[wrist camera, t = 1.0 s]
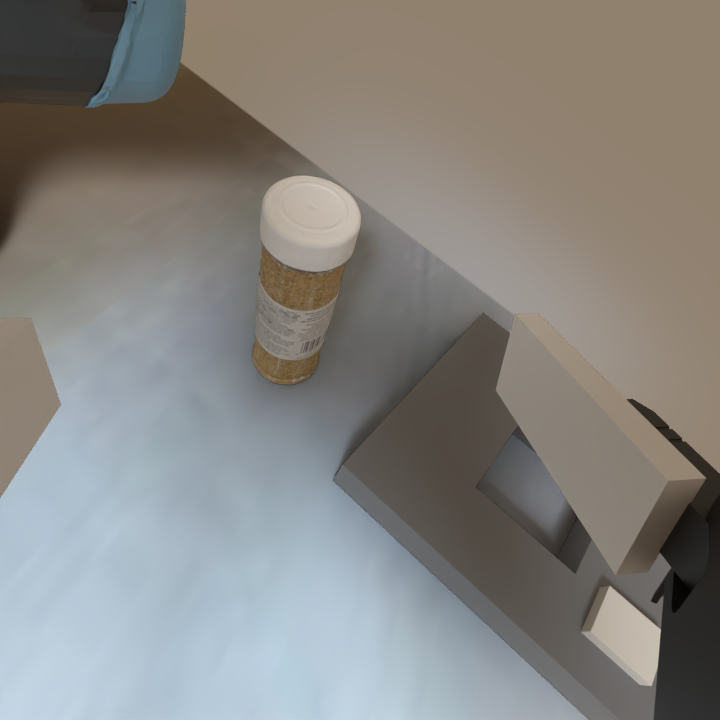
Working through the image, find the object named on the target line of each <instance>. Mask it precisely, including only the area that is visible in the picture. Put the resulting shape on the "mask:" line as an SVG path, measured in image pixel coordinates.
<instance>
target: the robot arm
mask: <svg viewBox="0 0 720 720" xmlns="http://www.w3.org/2000/svg"><path fill="white" fill-rule="evenodd" d="M185 13H186V0H0V102H14V103H36V104H57V105H78V106H83V107H84V108H90V107H92V108H96V107H99V106H101V105H102V104H121V103H148V102H152V101H155V100H157V99H158V98H161V97H162V96H164V95H165V94H166V93H167V92H168V91H169V89H170V88H171V86H172V85H173V83H174V81H175V79H176V76H177V73H178V69H179V65H180V60H181V54H182V47H183V38H184V29H185ZM496 391H497V393H498V394H499V396H500V398H501V399H502V401H503V402H504V404H505V405H506V407H507V408H508V410H509V411H510V413H511V415H512V416H513V418H514V419H515V421H516V422H517V424H518V425H519V427H520V428H521V430H522V432H523V433H524V435H525V436H526V438H527V439H528V441H529V442H530V444H531V445H532V447H533V449H534V450H535V452H536V453H537V455H538V456H539V458H540V459H541V461H542V463H543V464H544V466H545V467H546V469H547V470H548V472H549V473H550V475H551V476H552V478H553V480H554V481H555V483H556V484H557V486H558V487H559V489H560V490H561V492H562V493H563V495H564V497H565V498H566V500H567V501H568V503H569V504H570V506H571V507H572V509H573V510H574V512H575V514H576V515H577V517H578V518H579V520H580V521H581V523H582V524H583V526H584V527H585V529H586V531H587V532H588V534H589V535H590V537H591V538H592V540H593V541H594V543H595V545H596V546H597V548H598V549H599V551H600V552H601V554H602V555H603V557H604V558H605V560H606V562H607V563H608V565H609V566H610V568H611V569H612V571H613V572H614V574H615V575H621V574H631V573H641V572H648V571H649V570H650V568H651V567H652V565H653V563H654V562H655V560H656V558H657V557H658V555H659V554H660V553H661V555H662V556H663V557H664V558H665V560H666V561H667V562H668V564H669V565H670V566H671V569H670V570H669V572H668V573H667V575H666V576H665V578H664V579H663V581H662V582H661V584H660V585H659V587H658V588H657V590H656V591H655V593H654V595H653V597H652V599H651V602H653V603H655V604H657V603H658V601H659V600H660V598H661V597H662V596H664V597H663V609H662V621H661V633H660V646H659V658H658V670H657V682H656V695H655V707H654V719H653V720H720V474H719V473H718V472H717V471H716V470H715V469H714V468H713V467H712V466H711V465H710V464H709V463H708V462H707V461H705V460H704V459H703V458H702V457H701V456H700V455H699V454H698V453H697V452H696V451H695V450H694V449H693V448H692V447H690V445H688V444H687V443H686V442H683V441H682V438H681V437H680V436H679V435H678V434H677V433H676V432H675V431H674V430H673V429H669V426H668V425H667V424H666V423H665V422H664V421H663V420H662V419H661V418H660V417H659V416H658V415H657V414H656V413H655V412H653V411H652V410H650V409H648V408H647V407H645V406H643V405H642V404H640V403H638V402H637V401H635V400H633V399H625V398H624V397H623V396H622V395H621V394H620V393H619V392H618V391H617V390H616V389H615V388H614V387H613V386H612V385H611V384H610V383H609V382H608V381H607V380H606V379H605V378H604V377H603V376H602V375H601V374H600V373H599V372H598V371H597V370H596V369H595V368H594V367H593V366H592V365H591V364H590V363H589V362H588V361H587V360H586V359H585V358H583V356H582V355H581V354H580V353H578V351H577V350H576V349H575V348H574V347H573V346H571V344H570V343H568V342H567V341H566V340H565V339H564V338H563V337H562V336H561V335H560V334H559V333H558V332H557V331H556V330H555V329H554V328H553V327H552V326H551V325H550V324H549V323H548V322H547V321H546V320H545V319H544V318H543V317H542V316H541V315H540V314H515V316H514V320H513V324H512V328H511V332H510V336H509V340H508V344H507V347H506V351H505V355H504V359H503V363H502V367H501V371H500V375H499V379H498V382H497V386H496ZM60 405H61V403H60V400H59V397H58V394H57V392H56V389H55V386H54V383H53V380H52V377H51V374H50V371H49V368H48V365H47V362H46V360H45V357H44V354H43V351H42V348H41V345H40V342H39V339H38V336H37V333H36V331H35V328H34V325H33V322H32V319H31V318H0V497H1V496H2V494H3V493H4V491H5V490H6V488H7V487H8V485H9V484H10V482H11V480H12V479H13V477H14V476H15V474H16V473H17V471H18V470H19V468H20V467H21V465H22V464H23V462H24V461H25V459H26V457H27V456H28V454H29V453H30V451H31V450H32V448H33V447H34V445H35V444H36V442H37V441H38V439H39V437H40V436H41V434H42V433H43V431H44V430H45V428H46V427H47V425H48V424H49V422H50V421H51V419H52V417H53V416H54V414H55V413H56V411H57V410H58V408H59V407H60Z"/></svg>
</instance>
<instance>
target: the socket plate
mask: <svg viewBox="0 0 720 720" xmlns="http://www.w3.org/2000/svg"><path fill="white" fill-rule="evenodd" d="M509 336H510V333H508V332H507V331H506V330H505V329H503V328H502V327H501V326H499V325H498V324H497V323H496V322H494V321H493V320H492V319H490V318H489V317H488V316H487V315H485V314H484V313H483V314H482V315H481V316H480V317H479V318H478V319H477V320H476V321H475V322H474V323H473V324H472V325H471V327H470V328H469V329H468V330H467V331H466V332H465V333H464V334H463V335H462V336H461V337H460V338H459V339H458V341H457V342H456V343H455V344H454V345H453V346H452V347H451V348H450V349H449V350H448V351H447V352H446V353H445V355H444V356H443V357H442V358H441V359H440V360H439V361H438V362H437V363H436V364H435V365H434V366H433V367H432V369H431V370H430V371H429V372H428V373H427V374H426V375H425V376H424V377H423V378H422V379H421V380H420V381H419V383H418V384H417V385H416V386H415V387H414V388H413V389H412V390H411V391H410V392H409V393H408V394H407V395H406V397H405V398H404V399H403V400H402V401H401V402H400V403H399V404H398V405H397V406H396V407H395V408H394V409H393V411H392V412H391V413H390V414H389V415H388V416H387V417H386V418H385V419H384V420H383V421H382V422H381V423H380V425H379V426H378V427H377V428H376V429H375V430H374V431H373V432H372V433H371V434H370V435H369V436H368V437H367V439H366V440H365V441H364V442H363V443H362V444H361V445H360V446H359V447H358V448H357V449H356V450H355V451H354V453H353V454H352V455H351V456H350V457H349V458H348V459H347V460H346V461H345V462H344V463H343V464H342V466H341V468H340V469H339V471H338V472H337V474H336V476H335V477H334V479H333V481H334V482H335V483H336V484H337V485H338V486H339V487H340V488H341V489H343V490H344V491H345V492H346V493H347V494H348V495H349V496H350V497H351V498H352V499H353V500H354V501H355V502H356V503H358V504H359V505H360V506H361V507H362V508H363V509H364V510H365V511H366V512H367V513H368V514H369V515H370V516H371V517H373V518H374V519H375V520H376V521H377V522H378V523H379V524H380V525H381V526H382V527H383V528H384V529H385V530H386V531H388V532H389V533H390V534H391V535H392V536H393V537H394V538H395V539H396V540H397V541H398V542H399V543H400V544H401V545H402V546H404V547H405V548H406V549H407V550H408V551H409V552H410V553H411V554H412V555H413V556H414V557H415V558H416V559H417V560H419V561H420V562H421V563H422V564H423V565H424V566H425V567H426V568H427V569H428V570H429V571H430V572H431V573H432V574H434V575H435V576H436V577H437V578H438V579H439V580H440V581H441V582H442V583H443V584H444V585H445V586H446V587H447V588H449V589H450V590H451V591H452V592H453V593H454V594H455V595H456V596H457V597H458V598H459V599H460V600H461V601H462V602H463V603H465V604H466V605H467V606H468V607H469V608H470V609H471V610H472V611H473V612H474V613H475V614H476V615H477V616H478V617H480V618H481V619H482V620H483V621H484V622H485V623H486V624H487V625H488V626H489V627H490V628H491V629H492V630H493V631H495V632H496V633H497V634H498V635H499V636H500V637H501V638H502V639H503V640H504V641H505V642H506V643H507V644H508V645H510V646H511V647H512V648H513V649H514V650H515V651H516V652H517V653H518V654H519V655H520V656H521V657H522V658H523V659H524V660H526V661H527V662H528V663H529V664H530V665H531V666H532V667H533V668H534V669H535V670H536V671H537V672H538V673H539V674H541V675H542V676H543V677H544V678H545V679H546V680H547V681H548V682H549V683H550V684H551V685H552V686H553V687H554V688H556V689H557V690H558V691H559V692H560V693H561V694H562V695H563V696H564V697H565V698H566V699H567V700H568V701H569V702H571V703H572V704H573V705H574V706H575V707H576V708H577V709H578V710H579V711H580V712H581V713H582V714H583V715H584V716H585V717H587V718H588V719H589V720H653V719H654V707H655V695H656V682H657V670H658V658H659V646H660V633H661V621H662V609H663V597H664V596H662V597H661V598H660V600H659V601H658V603H657V604H655V603H653V602H651V599H652V597H653V595H654V593H655V591H656V590H657V588H658V587H659V585H660V584H661V582H662V581H663V579H664V578H665V576H666V575H667V573H668V572H669V570H670V569H671V566H670V565H669V564H668V562H667V561H666V560H665V558H664V557H663V556H662V555H661V553H660V554H659V555H658V557H657V558H656V560H655V562H654V563H653V565H652V567H651V568H650V570H649V571H648V572H641V573H631V574H621V575H615V574H614V572H613V571H612V569H611V568H610V566H609V565H608V563H607V562H606V560H605V558H604V557H603V555H602V554H601V552H600V551H599V549H598V548H597V546H596V545H595V543H594V541H593V540H592V538H591V537H590V535H589V534H588V532H587V531H586V529H585V527H584V526H583V524H582V523H581V521H580V520H579V518H578V517H577V519H576V521H575V523H574V525H573V527H572V529H571V531H570V533H569V535H568V537H567V539H566V541H565V543H564V545H563V547H562V549H561V551H560V553H559V554H558V556H557V558H556V557H555V556H554V555H553V554H552V553H551V552H549V551H548V550H547V549H546V548H545V547H544V546H543V545H541V544H540V543H539V542H538V541H537V540H536V539H535V538H533V537H532V536H531V535H530V534H529V533H528V532H527V531H525V530H524V529H523V528H522V527H521V526H520V525H519V524H517V523H516V522H515V521H514V520H513V519H512V518H510V517H509V516H508V515H507V514H506V513H505V512H504V511H502V510H501V509H500V508H499V507H498V506H497V505H496V504H494V503H493V502H492V501H491V500H490V499H489V498H488V497H486V496H485V495H484V494H483V493H482V492H481V491H480V490H478V489H477V488H476V485H477V484H478V482H479V481H480V479H481V478H482V476H483V475H484V474H485V472H486V471H487V469H488V468H489V466H490V465H491V463H492V462H493V461H494V459H495V458H496V456H497V455H498V453H499V452H500V450H501V449H502V448H503V446H504V445H505V443H506V442H507V440H508V439H509V437H510V436H511V435H512V433H513V434H514V435H515V436H516V437H518V438H519V439H520V440H521V441H522V442H524V443H525V444H526V445H527V446H528V447H530V448H531V449H532V450H533V451H534V452H535V450H534V449H533V447H532V445H531V444H530V442H529V441H528V439H527V438H526V436H525V435H524V433H523V432H522V430H521V428H520V427H519V425H518V424H517V422H516V421H515V419H514V418H513V416H512V415H511V413H510V411H509V410H508V408H507V407H506V405H505V404H504V402H503V401H502V399H501V398H500V396H499V394H498V393H497V391H496V386H497V382H498V379H499V375H500V371H501V367H502V363H503V359H504V355H505V351H506V347H507V344H508V340H509Z"/></svg>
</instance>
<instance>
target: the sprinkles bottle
mask: <svg viewBox="0 0 720 720" xmlns="http://www.w3.org/2000/svg"><path fill="white" fill-rule="evenodd" d="M360 226H361V214H360V210H359V207H358V205H357V203H356V202H355V200H354V199H353V197H352V196H351V195H350V194H349V193H348V192H347V191H345V190H344V189H343V188H342V187H340V186H338V185H337V184H335V183H333V182H331V181H328V180H326V179H322V178H319V177H313V176H293V177H288V178H285V179H282V180H280V181H278V182H276V183H275V184H273V185H272V186H271V187H270V188H269V189H268V191H267V192H266V193H265V196H264V198H263V201H262V208H261V218H260V236H261V240H262V259H261V267H260V273H259V277H258V290H257V304H256V318H255V343H254V346H253V351H252V356H253V362H254V365H255V367H256V368H257V370H258V371H259V372H260V374H261V375H262V376H264V377H265V378H266V379H268V380H270V381H271V382H274V383H278V384H285V385H288V384H297V383H299V382H301V381H304V380H305V379H306V378H308V377H309V376H311V375H312V373H313V372H314V371H315V369H316V367H317V364H318V359H319V352H320V348H321V346H322V344H323V342H324V340H325V337H326V333H327V330H328V327H329V324H330V320H331V317H332V314H333V311H334V307H335V304H336V301H337V297H338V294H339V290H340V282H341V279H342V275H343V272H344V269H345V265H346V263H347V262H348V260H349V258H350V256H351V255H352V253H353V251H354V248H355V244H356V241H357V238H358V234H359V230H360Z"/></svg>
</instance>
